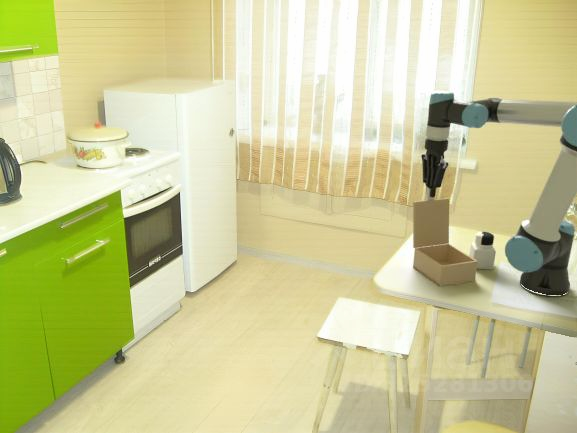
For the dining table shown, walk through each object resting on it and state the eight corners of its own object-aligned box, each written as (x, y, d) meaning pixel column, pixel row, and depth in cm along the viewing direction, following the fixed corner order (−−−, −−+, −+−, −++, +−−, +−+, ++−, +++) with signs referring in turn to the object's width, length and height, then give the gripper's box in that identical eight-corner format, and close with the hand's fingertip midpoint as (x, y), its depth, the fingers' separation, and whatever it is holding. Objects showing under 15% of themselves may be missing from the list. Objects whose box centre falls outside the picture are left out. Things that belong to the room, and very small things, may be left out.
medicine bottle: (489, 261, 220) (493, 230, 216) (493, 270, 213) (498, 237, 209) (468, 260, 220) (472, 229, 216) (472, 268, 213) (476, 236, 209)
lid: (449, 198, 213) (447, 198, 214) (414, 202, 208) (413, 201, 209) (448, 243, 216) (447, 243, 217) (414, 248, 211) (413, 247, 212)
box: (475, 280, 204) (477, 261, 202) (439, 286, 199) (441, 266, 197) (446, 262, 218) (449, 243, 216) (412, 266, 213) (414, 248, 211)
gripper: (458, 142, 200) (449, 210, 209) (435, 133, 212) (428, 198, 220) (438, 143, 198) (430, 212, 206) (416, 134, 209) (410, 200, 217)
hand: (429, 204), depth 213 cm, fingers closed
